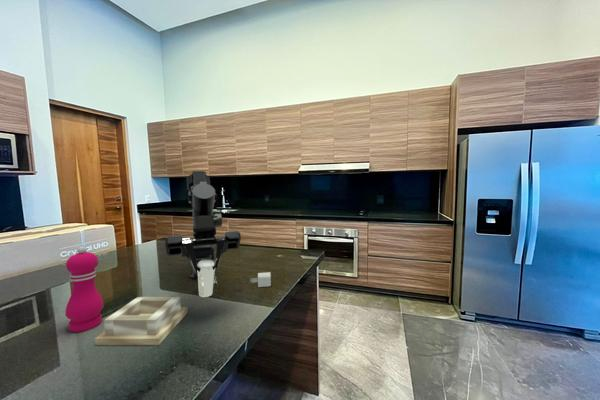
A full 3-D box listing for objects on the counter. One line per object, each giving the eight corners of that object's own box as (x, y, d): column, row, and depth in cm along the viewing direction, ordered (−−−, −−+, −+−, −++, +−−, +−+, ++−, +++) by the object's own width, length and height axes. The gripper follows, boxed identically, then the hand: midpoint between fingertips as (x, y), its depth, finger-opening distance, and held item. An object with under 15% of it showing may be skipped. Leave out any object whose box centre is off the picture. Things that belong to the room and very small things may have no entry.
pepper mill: (81, 318, 66) (77, 243, 65) (110, 316, 67) (107, 242, 65) (57, 334, 59) (52, 250, 58) (90, 332, 59) (86, 250, 58)
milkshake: (211, 300, 62) (212, 260, 62) (192, 297, 63) (193, 258, 63) (221, 292, 67) (221, 255, 66) (203, 290, 68) (203, 253, 67)
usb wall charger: (270, 287, 86) (270, 275, 86) (250, 288, 85) (250, 276, 85) (270, 282, 90) (270, 271, 90) (250, 283, 89) (250, 272, 89)
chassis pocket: (136, 312, 69) (136, 294, 68) (187, 312, 69) (187, 294, 68) (95, 345, 55) (93, 323, 54) (158, 345, 55) (157, 323, 54)
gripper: (164, 205, 63) (161, 260, 54) (239, 202, 71) (247, 250, 61) (168, 230, 71) (166, 282, 62) (235, 225, 78) (242, 271, 69)
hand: (206, 271), depth 63 cm, fingers closed on milkshake, 4 cm apart
